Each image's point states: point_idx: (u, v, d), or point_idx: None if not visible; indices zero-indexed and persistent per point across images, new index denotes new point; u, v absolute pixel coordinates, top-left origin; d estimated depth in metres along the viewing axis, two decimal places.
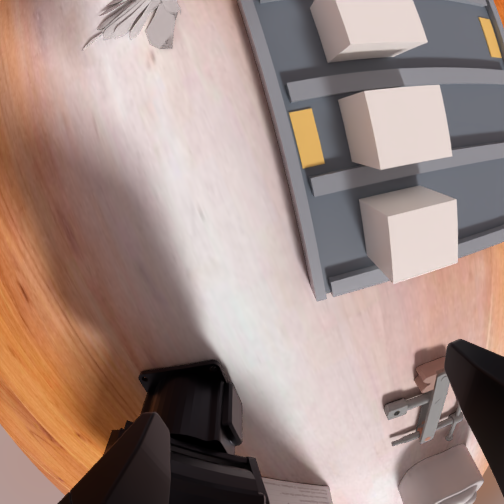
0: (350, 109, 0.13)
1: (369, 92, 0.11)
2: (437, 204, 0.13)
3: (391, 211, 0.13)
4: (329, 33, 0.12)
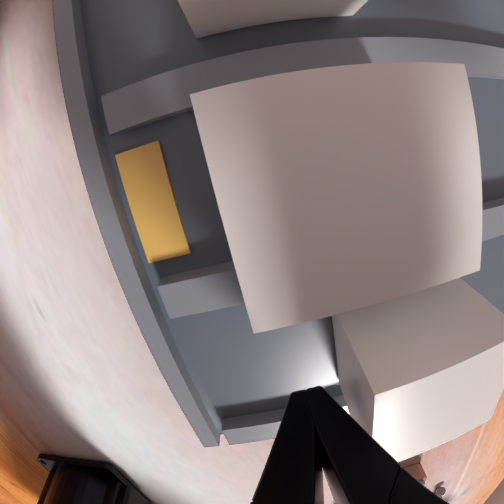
0: None
1: (210, 96, 0.03)
2: (486, 350, 0.05)
3: (387, 371, 0.06)
4: None
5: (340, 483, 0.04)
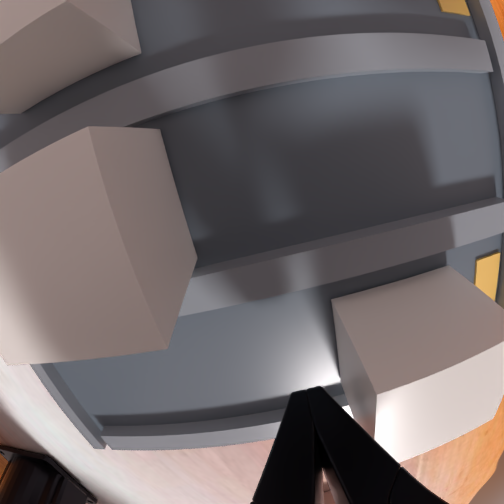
0: None
1: None
2: (490, 349, 0.05)
3: (389, 371, 0.06)
4: None
5: (340, 483, 0.04)
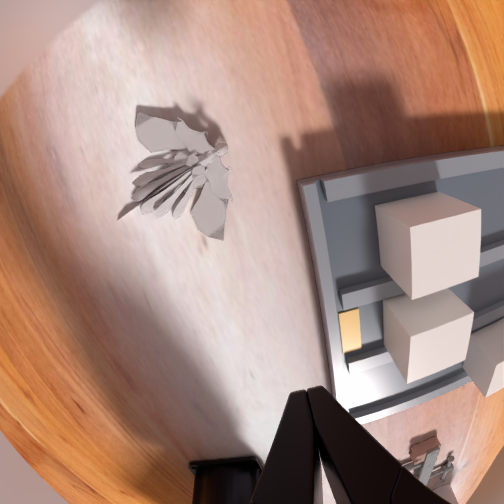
0: (393, 322, 0.16)
1: (414, 336, 0.13)
2: None
3: (497, 358, 0.15)
4: (392, 257, 0.14)
5: (341, 483, 0.04)
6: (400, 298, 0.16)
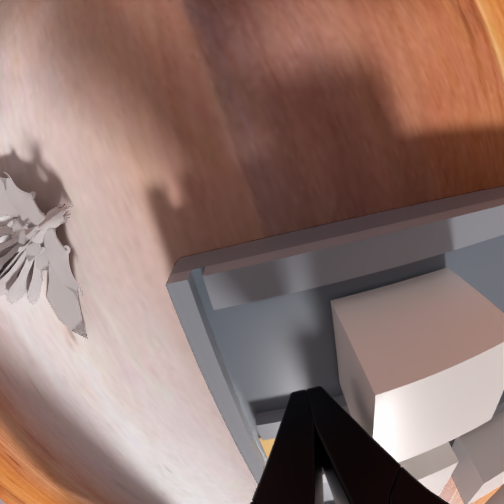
0: None
1: None
2: None
3: (487, 472, 0.09)
4: (350, 393, 0.08)
5: (340, 483, 0.04)
6: None
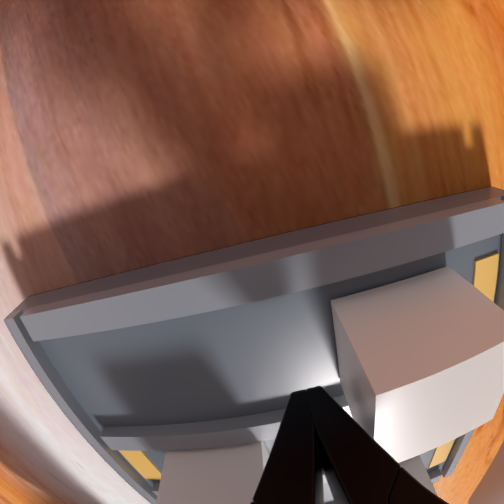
0: None
1: None
2: None
3: None
4: (351, 393, 0.08)
5: (339, 483, 0.04)
6: (186, 453, 0.11)
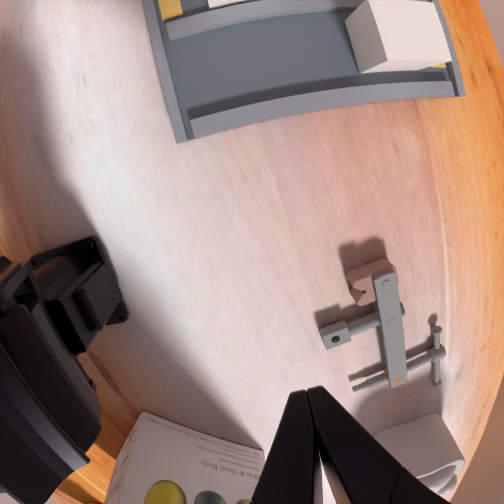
0: None
1: None
2: (415, 1, 0.10)
3: (371, 1, 0.11)
4: None
5: (341, 483, 0.04)
6: None
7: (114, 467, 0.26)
